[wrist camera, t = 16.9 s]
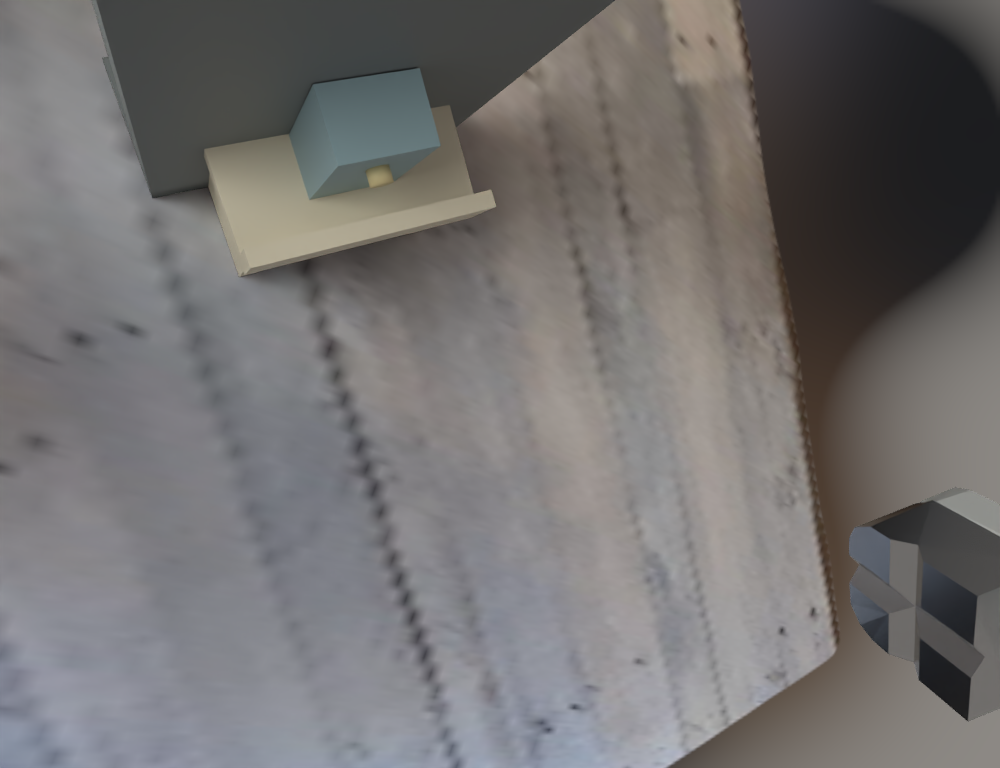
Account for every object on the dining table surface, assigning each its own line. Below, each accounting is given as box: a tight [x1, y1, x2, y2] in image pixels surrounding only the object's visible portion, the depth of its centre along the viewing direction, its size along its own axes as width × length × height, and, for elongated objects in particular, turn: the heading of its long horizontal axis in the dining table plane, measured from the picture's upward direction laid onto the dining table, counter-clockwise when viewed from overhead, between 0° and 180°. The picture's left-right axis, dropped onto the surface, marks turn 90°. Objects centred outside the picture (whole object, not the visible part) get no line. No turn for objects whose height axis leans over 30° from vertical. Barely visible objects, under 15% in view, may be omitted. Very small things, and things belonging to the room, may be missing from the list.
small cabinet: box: [289, 68, 441, 200], centre depth 34 cm, size 5×4×8 cm
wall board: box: [92, 0, 615, 277], centre depth 33 cm, size 20×14×30 cm
